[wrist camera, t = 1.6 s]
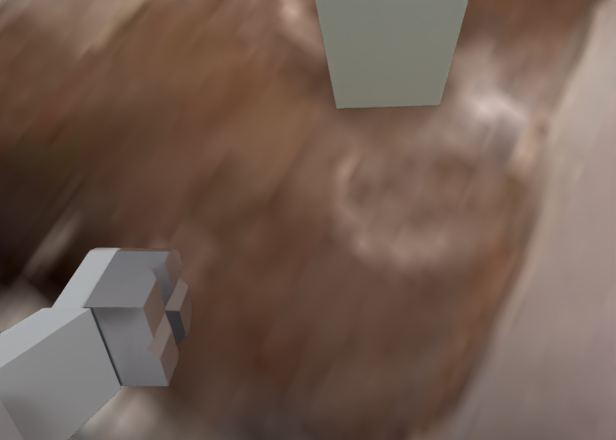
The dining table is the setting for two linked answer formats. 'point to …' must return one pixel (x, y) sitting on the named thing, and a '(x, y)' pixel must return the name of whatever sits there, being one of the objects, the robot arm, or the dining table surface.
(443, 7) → the sage block
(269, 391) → the dining table surface
